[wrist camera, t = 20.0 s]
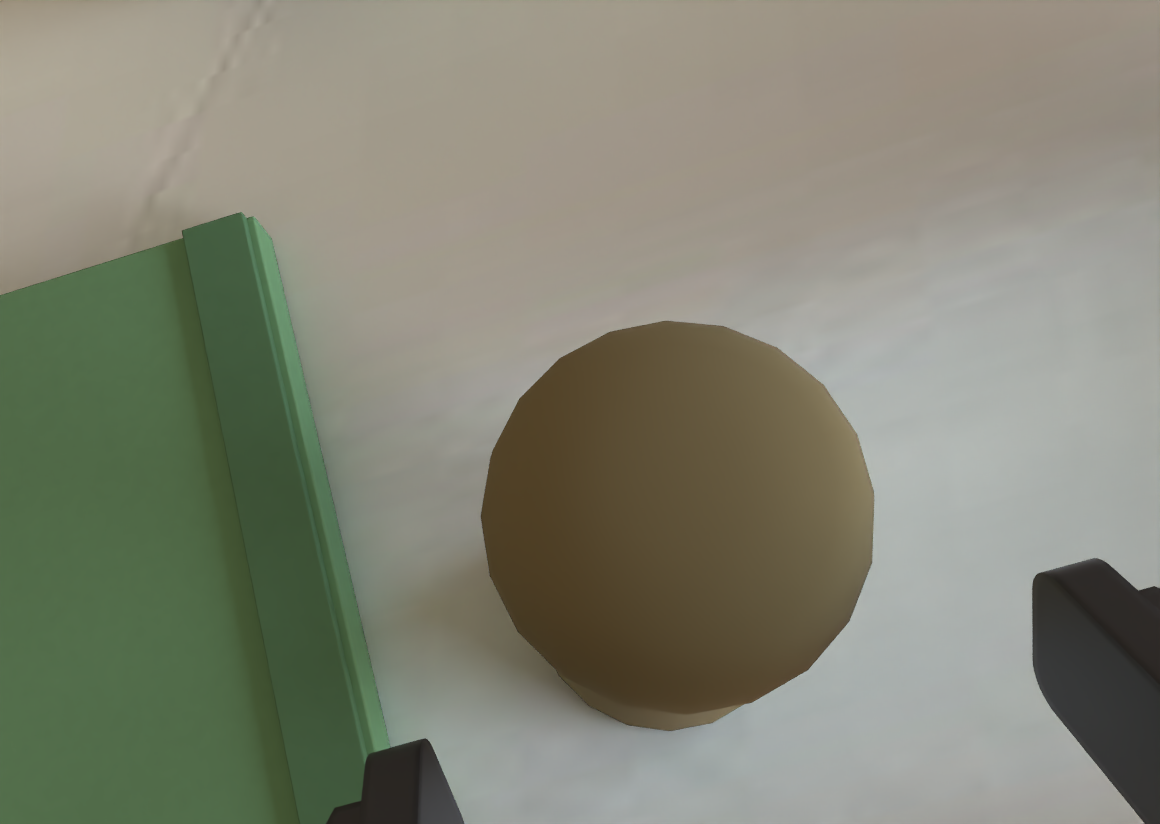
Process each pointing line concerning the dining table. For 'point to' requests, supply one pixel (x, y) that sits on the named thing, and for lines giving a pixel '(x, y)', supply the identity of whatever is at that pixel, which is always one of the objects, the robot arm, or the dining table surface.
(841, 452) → the cork
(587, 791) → the dining table surface
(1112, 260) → the dining table surface
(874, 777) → the dining table surface
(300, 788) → the green flat rectangular block
